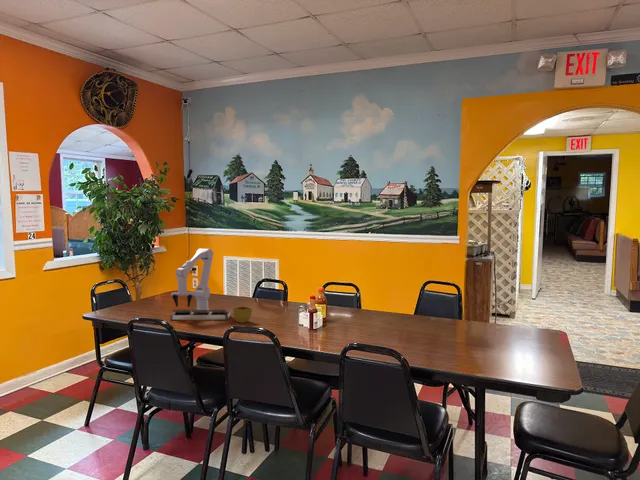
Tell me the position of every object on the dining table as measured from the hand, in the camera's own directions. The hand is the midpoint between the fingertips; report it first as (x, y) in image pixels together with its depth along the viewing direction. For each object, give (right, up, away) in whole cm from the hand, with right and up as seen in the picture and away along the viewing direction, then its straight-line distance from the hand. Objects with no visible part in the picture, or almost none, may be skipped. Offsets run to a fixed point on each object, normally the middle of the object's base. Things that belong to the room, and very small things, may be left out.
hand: (182, 306), depth 296 cm
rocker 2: (+24, -3, -1) cm, 24 cm away
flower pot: (+41, -9, -11) cm, 44 cm away
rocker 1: (+12, -3, -1) cm, 13 cm away
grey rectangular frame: (0, -3, -2) cm, 4 cm away
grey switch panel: (+12, -8, -1) cm, 14 cm away
